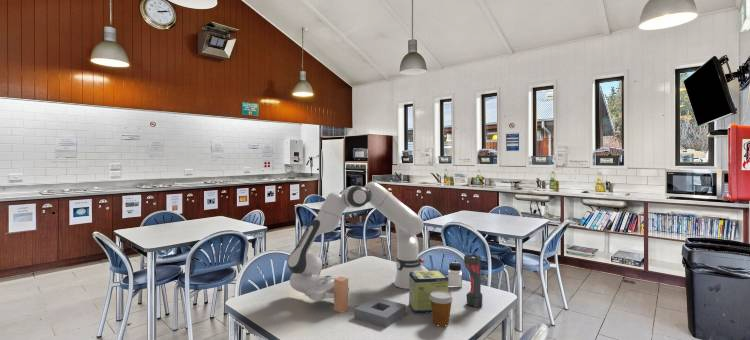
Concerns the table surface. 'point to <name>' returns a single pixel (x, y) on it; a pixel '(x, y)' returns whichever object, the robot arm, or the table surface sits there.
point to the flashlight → (474, 279)
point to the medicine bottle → (455, 274)
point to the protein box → (425, 289)
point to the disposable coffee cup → (441, 307)
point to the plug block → (341, 294)
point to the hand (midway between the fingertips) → (341, 292)
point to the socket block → (380, 311)
